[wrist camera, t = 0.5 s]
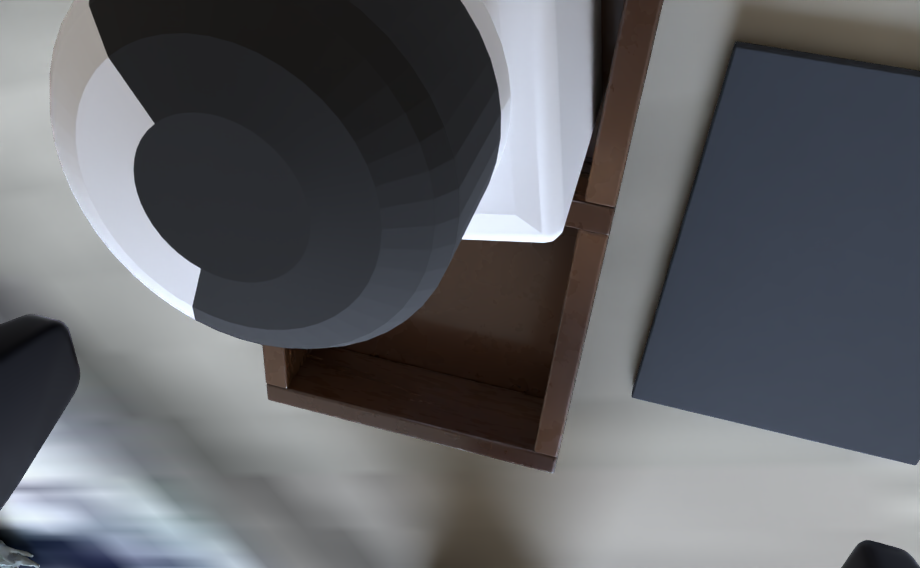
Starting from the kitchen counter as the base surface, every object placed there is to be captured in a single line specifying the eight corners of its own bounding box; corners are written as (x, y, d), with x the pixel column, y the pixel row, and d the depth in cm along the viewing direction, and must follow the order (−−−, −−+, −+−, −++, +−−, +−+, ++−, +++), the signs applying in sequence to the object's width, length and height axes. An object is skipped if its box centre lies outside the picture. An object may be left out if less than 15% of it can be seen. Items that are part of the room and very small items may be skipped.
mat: (913, 456, 25) (916, 466, 25) (632, 390, 26) (631, 398, 26) (1139, 105, 18) (1146, 112, 17) (735, 40, 19) (735, 45, 19)
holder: (567, 411, 28) (553, 475, 25) (303, 346, 29) (267, 400, 27) (719, -248, 16) (720, -243, 14) (267, -294, 18) (198, -298, 15)
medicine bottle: (601, -210, 17) (451, -130, 7) (603, 108, 21) (510, 430, 11) (299, -174, 19) (-132, -73, 9) (354, 110, 22) (94, 385, 13)
